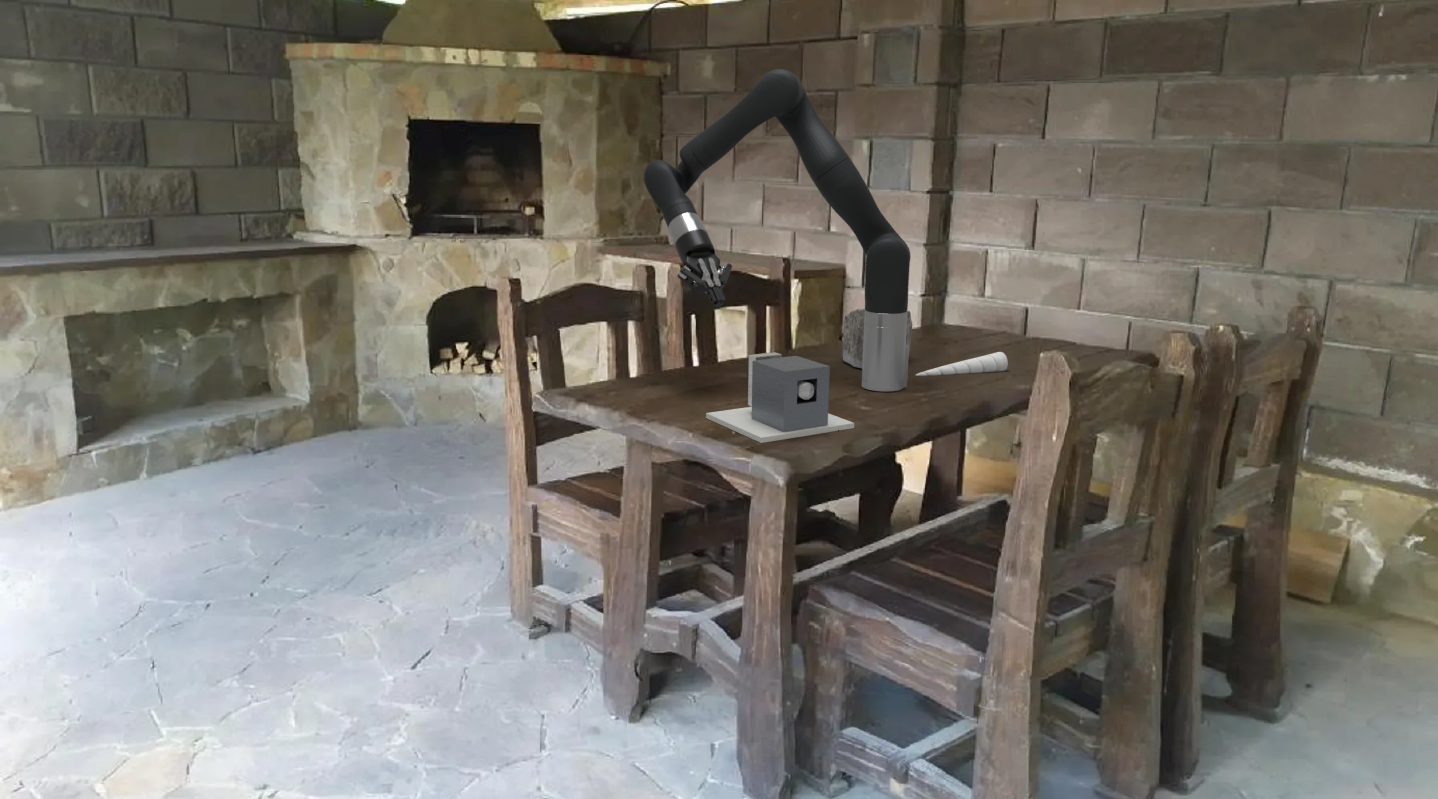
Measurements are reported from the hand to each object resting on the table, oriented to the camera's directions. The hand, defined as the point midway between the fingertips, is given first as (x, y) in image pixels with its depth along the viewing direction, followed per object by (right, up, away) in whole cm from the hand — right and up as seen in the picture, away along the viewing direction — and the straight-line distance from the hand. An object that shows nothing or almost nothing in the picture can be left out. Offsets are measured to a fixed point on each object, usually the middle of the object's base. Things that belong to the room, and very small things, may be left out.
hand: (719, 304), depth 215 cm
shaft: (+12, -22, -17) cm, 30 cm away
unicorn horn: (+58, -14, +30) cm, 67 cm away
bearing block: (+13, -24, -18) cm, 33 cm away
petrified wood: (+39, -11, +40) cm, 57 cm away
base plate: (+11, -24, -15) cm, 31 cm away
